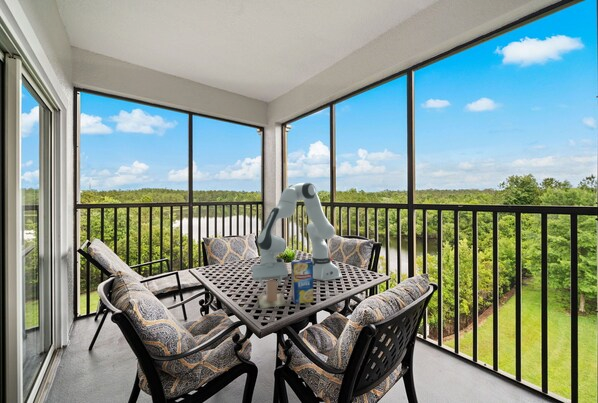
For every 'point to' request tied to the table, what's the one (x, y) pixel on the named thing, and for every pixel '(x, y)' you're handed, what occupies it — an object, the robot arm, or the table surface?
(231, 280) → the table surface
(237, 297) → the table surface
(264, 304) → the placemat
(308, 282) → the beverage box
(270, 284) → the terracotta block
